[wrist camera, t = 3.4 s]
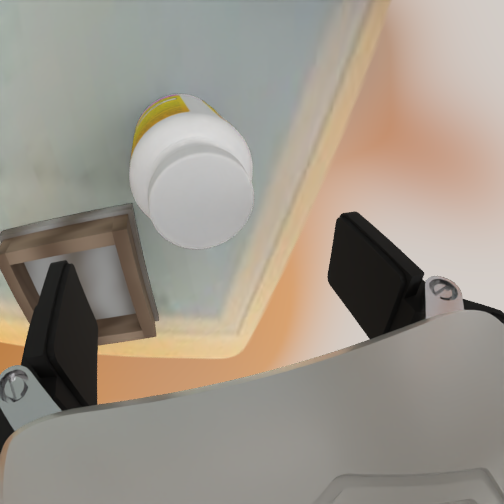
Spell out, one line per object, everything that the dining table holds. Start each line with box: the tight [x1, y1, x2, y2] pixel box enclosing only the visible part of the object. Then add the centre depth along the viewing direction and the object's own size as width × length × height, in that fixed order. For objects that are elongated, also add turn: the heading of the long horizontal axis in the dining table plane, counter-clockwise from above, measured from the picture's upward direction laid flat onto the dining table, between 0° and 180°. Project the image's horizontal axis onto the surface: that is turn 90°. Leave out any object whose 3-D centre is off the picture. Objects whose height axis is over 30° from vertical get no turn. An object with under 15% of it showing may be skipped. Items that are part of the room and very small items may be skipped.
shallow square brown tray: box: [0, 203, 159, 345], centre depth 27 cm, size 13×13×4 cm
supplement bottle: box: [129, 94, 254, 249], centre depth 19 cm, size 7×7×13 cm
